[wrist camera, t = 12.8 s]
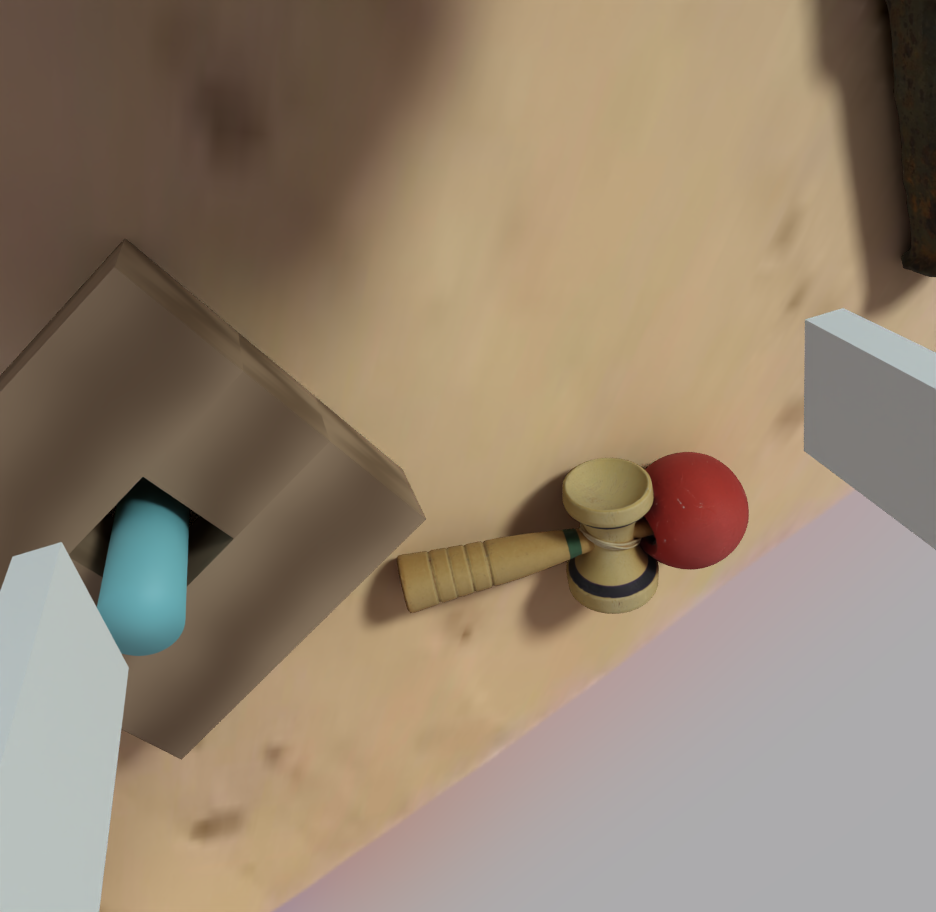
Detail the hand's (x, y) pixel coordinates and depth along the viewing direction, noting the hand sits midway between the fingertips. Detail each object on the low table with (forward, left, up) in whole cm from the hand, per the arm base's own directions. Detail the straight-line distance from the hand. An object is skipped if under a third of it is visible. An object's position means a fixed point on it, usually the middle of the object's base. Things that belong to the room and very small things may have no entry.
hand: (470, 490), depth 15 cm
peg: (+3, -14, -24) cm, 28 cm away
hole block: (+3, -13, -24) cm, 28 cm away
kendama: (+20, -2, -25) cm, 32 cm away
